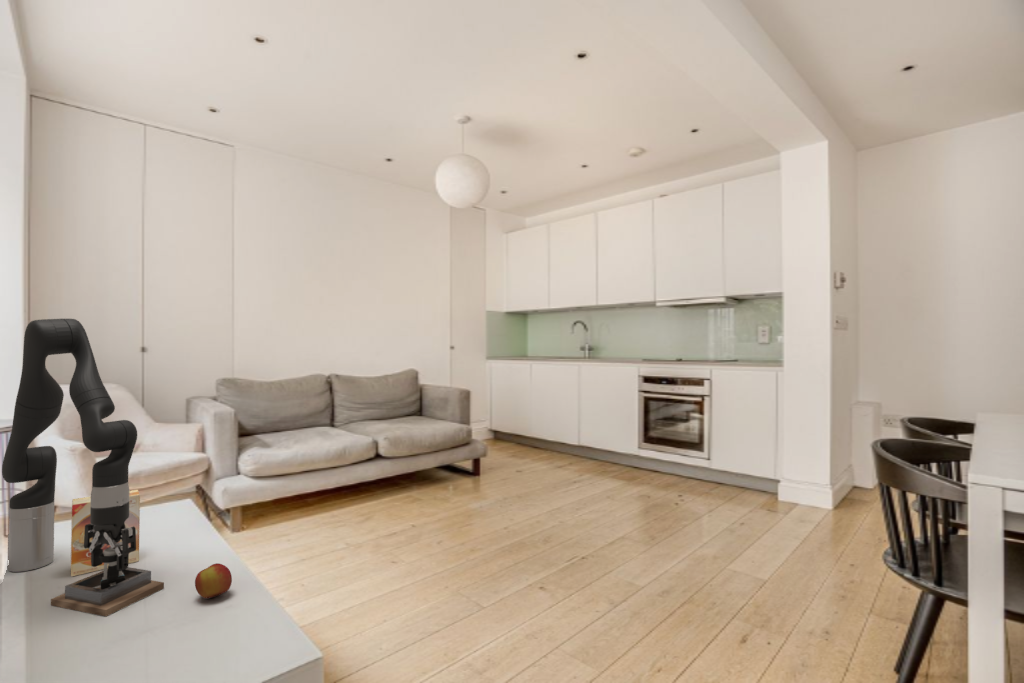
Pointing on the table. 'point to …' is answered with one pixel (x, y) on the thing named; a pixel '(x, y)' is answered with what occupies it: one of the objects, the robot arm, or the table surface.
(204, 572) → the apple
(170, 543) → the table surface
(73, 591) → the socket
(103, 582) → the push button
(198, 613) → the table surface
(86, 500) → the coffeecake box
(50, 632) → the table surface
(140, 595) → the mounting board
